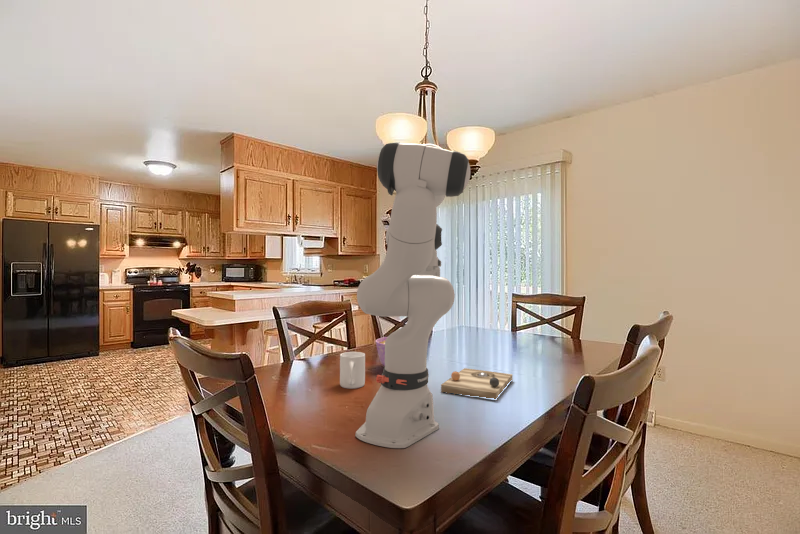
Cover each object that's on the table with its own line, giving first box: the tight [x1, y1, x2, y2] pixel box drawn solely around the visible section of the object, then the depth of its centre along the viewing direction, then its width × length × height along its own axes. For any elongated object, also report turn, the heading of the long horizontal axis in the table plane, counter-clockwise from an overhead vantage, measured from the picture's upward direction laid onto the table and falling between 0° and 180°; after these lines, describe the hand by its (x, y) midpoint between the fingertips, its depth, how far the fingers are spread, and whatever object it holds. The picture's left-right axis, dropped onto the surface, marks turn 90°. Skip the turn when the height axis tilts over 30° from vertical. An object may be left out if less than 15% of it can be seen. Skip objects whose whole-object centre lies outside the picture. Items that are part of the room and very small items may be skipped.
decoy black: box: [490, 377, 499, 387], centre depth 128 cm, size 3×3×3 cm
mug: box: [339, 351, 366, 390], centre depth 136 cm, size 9×12×11 cm
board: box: [440, 367, 513, 399], centre depth 137 cm, size 24×18×2 cm
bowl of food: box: [375, 336, 388, 367], centre depth 159 cm, size 20×20×12 cm
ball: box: [478, 372, 488, 377], centre depth 142 cm, size 4×4×4 cm
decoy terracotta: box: [450, 370, 460, 380], centre depth 135 cm, size 3×3×3 cm
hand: (424, 300), depth 140 cm, fingers closed
